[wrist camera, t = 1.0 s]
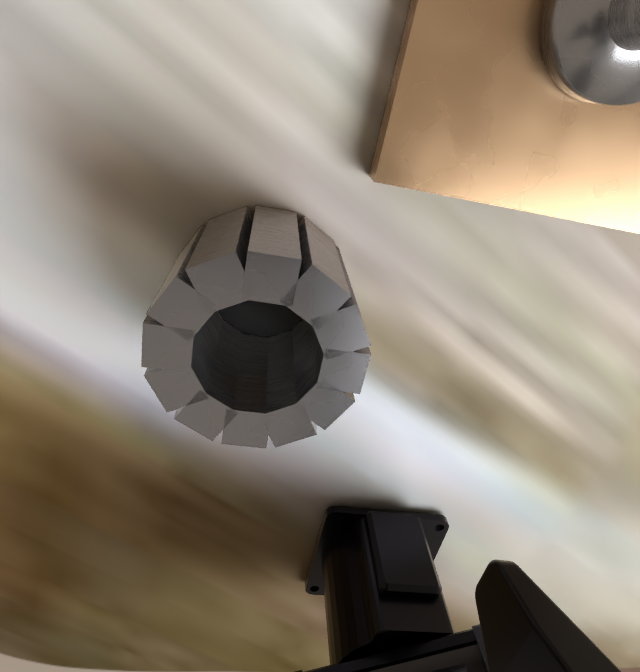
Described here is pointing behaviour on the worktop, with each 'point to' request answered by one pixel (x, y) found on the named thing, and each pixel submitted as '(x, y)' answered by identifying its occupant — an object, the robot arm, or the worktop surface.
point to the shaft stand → (519, 107)
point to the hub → (255, 351)
